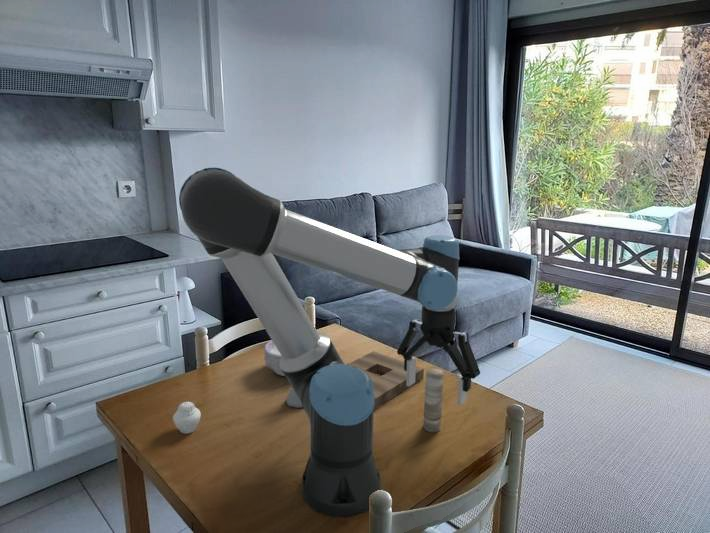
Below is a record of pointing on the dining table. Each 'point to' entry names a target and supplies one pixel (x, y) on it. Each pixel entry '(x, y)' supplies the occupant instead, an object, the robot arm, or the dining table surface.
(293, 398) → the flask
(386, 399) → the board
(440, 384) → the peg
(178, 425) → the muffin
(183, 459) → the dining table surface
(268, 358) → the paper bowls
